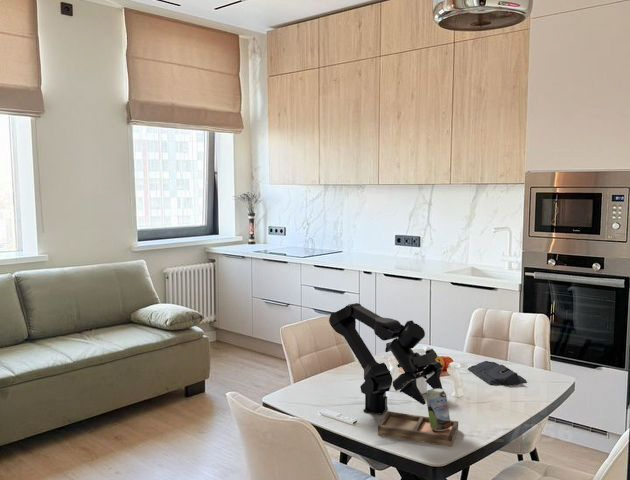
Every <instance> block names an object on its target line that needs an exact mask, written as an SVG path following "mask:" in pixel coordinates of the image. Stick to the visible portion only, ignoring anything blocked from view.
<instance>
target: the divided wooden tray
mask: <svg viewBox="0 0 630 480" xmlns="http://www.w3.org/2000/svg"><path fill="white" fill-rule="evenodd" d="M450 423H451V426H450V427H449V429H447V430H445V431H435V430H433V429H432V428H431V427H430V421H429V416H423V415H422V416H421V415H415V414H409V413H403V412H394V411H387V412H386V413H385V415H384V417H383V418H382V419H381V420H380V422H379V423H378V425H377V435H378V436H383V435H384V436H385V437H391V438H395V439H396V438H397V439H402V440H403V439H404V440H408V441H409V440H410V441H413V442H414V441H415V442H422V443H425V444H427V443H428V444H434V445H439V446H445V447H446V446H447V447H453V444H454V441H455V440H456V437H457V434H458V431H459V421H456V420H451V419H450Z"/></svg>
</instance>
